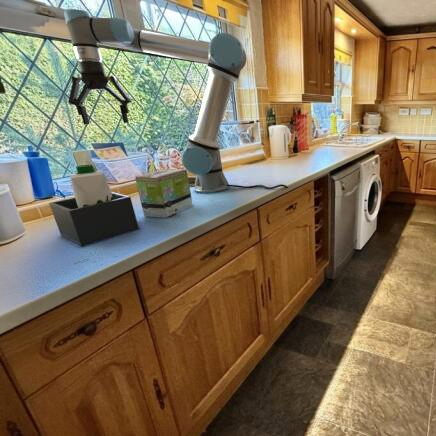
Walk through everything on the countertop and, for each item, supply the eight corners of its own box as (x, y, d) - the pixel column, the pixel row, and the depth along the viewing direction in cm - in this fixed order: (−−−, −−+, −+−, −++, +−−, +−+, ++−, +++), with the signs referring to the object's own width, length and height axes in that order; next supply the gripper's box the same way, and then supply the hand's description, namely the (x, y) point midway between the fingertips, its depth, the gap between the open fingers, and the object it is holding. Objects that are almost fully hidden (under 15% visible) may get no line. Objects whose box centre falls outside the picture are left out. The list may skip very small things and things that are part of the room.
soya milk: (119, 222, 101) (101, 162, 94) (122, 230, 94) (104, 166, 87) (86, 229, 95) (65, 166, 89) (87, 238, 89) (65, 170, 82)
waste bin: (116, 220, 105) (107, 190, 102) (139, 228, 97) (130, 196, 93) (61, 236, 93) (48, 203, 89) (81, 247, 85) (69, 210, 81)
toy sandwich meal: (210, 184, 152) (209, 175, 151) (181, 187, 148) (179, 178, 146) (209, 179, 163) (208, 171, 162) (182, 182, 159) (181, 173, 157)
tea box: (168, 218, 106) (158, 176, 101) (143, 217, 108) (133, 176, 103) (194, 205, 120) (186, 168, 114) (171, 204, 122) (163, 168, 116)
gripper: (43, 60, 102) (64, 125, 110) (123, 59, 107) (138, 122, 114) (57, 63, 109) (75, 124, 117) (132, 62, 114) (145, 121, 121)
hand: (106, 123), depth 115 cm, fingers open, 13 cm apart
